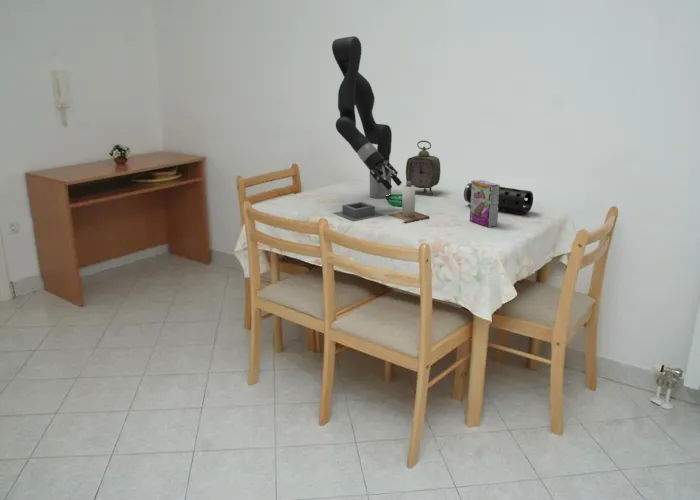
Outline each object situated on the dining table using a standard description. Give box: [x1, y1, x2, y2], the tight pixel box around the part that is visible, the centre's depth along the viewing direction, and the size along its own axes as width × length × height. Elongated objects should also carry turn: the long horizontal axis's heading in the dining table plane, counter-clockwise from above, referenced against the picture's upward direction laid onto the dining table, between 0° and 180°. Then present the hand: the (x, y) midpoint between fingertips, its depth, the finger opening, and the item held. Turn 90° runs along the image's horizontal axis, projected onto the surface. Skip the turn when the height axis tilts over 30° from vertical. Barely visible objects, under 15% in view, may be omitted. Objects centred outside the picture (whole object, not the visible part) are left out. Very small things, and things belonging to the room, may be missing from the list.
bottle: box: [401, 180, 416, 217], centre depth 238 cm, size 5×5×14 cm
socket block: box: [332, 201, 385, 222], centre depth 243 cm, size 16×16×4 cm
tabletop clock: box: [405, 140, 441, 197], centre depth 277 cm, size 14×9×25 cm, turn 58°
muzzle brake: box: [463, 182, 534, 216], centre depth 248 cm, size 10×28×10 cm, turn 48°
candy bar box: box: [469, 179, 501, 228], centre depth 228 cm, size 11×5×16 cm, turn 29°
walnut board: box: [388, 211, 430, 224], centre depth 240 cm, size 12×12×1 cm
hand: (395, 186), depth 240 cm, fingers open, 8 cm apart
